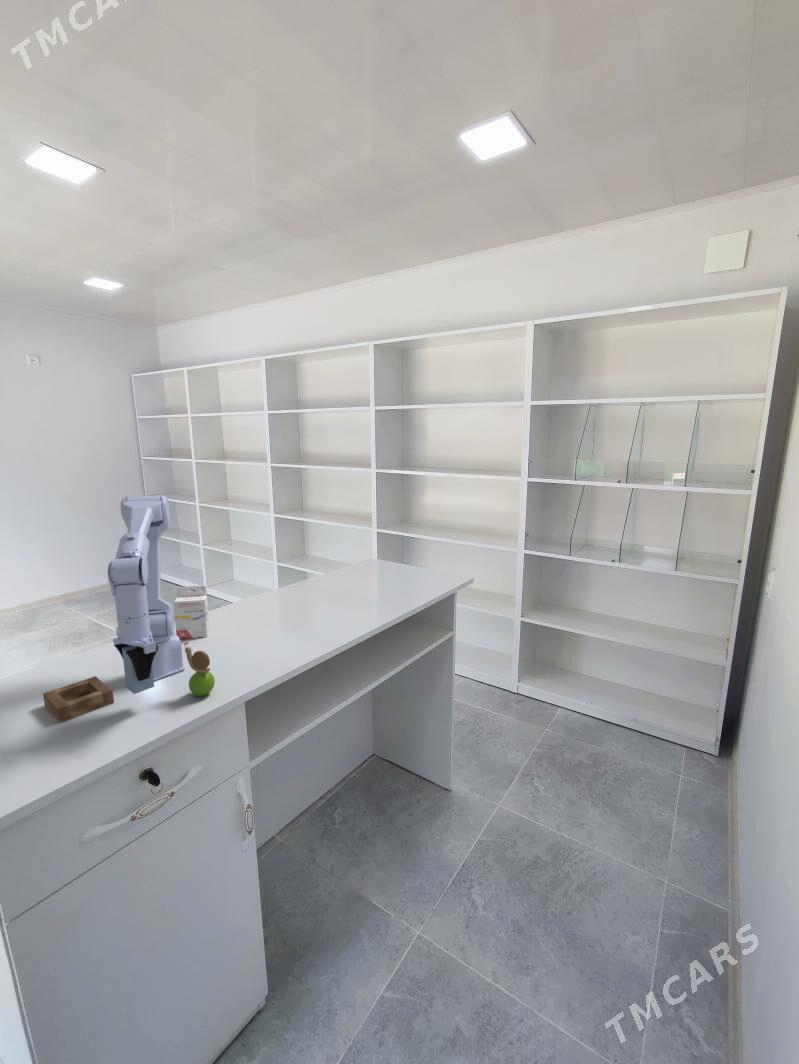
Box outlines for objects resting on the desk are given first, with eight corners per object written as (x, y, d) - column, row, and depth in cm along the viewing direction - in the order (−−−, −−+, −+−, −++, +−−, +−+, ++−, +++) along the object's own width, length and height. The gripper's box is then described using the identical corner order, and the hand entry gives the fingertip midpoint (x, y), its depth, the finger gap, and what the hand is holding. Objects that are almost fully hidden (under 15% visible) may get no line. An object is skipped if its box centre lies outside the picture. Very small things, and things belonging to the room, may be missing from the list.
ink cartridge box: (176, 640, 137) (171, 591, 135) (179, 633, 142) (175, 586, 139) (207, 637, 139) (204, 589, 137) (210, 631, 144) (206, 584, 141)
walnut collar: (96, 688, 109) (95, 676, 109) (114, 702, 103) (112, 690, 103) (44, 706, 102) (43, 693, 101) (60, 722, 96) (58, 709, 95)
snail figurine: (197, 686, 111) (193, 637, 108) (220, 690, 109) (217, 640, 107) (180, 697, 105) (176, 646, 103) (204, 702, 104) (200, 650, 102)
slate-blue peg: (145, 680, 103) (142, 642, 102) (154, 686, 101) (150, 646, 99) (126, 687, 100) (122, 648, 99) (134, 694, 98) (130, 653, 96)
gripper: (97, 611, 99) (104, 672, 101) (126, 628, 90) (133, 694, 92) (133, 603, 104) (139, 661, 107) (164, 618, 95) (169, 680, 98)
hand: (139, 675), depth 100 cm, fingers closed on slate-blue peg, 4 cm apart
